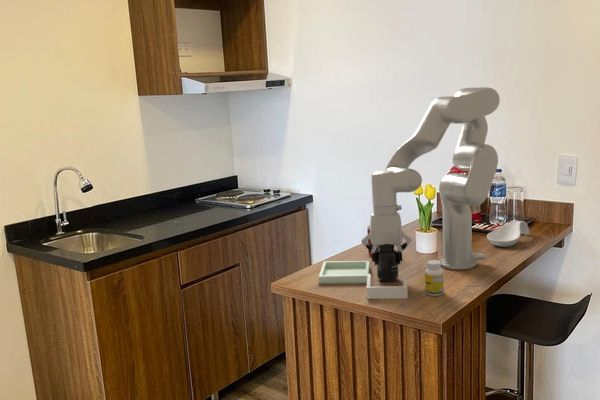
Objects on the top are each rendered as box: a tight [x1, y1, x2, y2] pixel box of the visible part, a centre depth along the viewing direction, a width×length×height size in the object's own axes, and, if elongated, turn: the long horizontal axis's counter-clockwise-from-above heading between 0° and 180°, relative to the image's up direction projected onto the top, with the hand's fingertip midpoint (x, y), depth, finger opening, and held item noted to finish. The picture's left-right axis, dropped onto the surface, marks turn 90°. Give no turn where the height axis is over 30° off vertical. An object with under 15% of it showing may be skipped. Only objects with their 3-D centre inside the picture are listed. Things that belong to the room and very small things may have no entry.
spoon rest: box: [486, 219, 531, 248], centre depth 222 cm, size 24×12×7 cm, turn 135°
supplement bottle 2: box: [424, 259, 445, 297], centre depth 173 cm, size 5×5×10 cm
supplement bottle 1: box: [376, 244, 399, 282], centre depth 187 cm, size 7×7×12 cm
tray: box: [318, 260, 371, 285], centre depth 195 cm, size 16×16×2 cm
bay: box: [365, 272, 409, 300], centre depth 178 cm, size 12×12×4 cm
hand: (387, 262), depth 187 cm, fingers closed on supplement bottle 1, 6 cm apart
